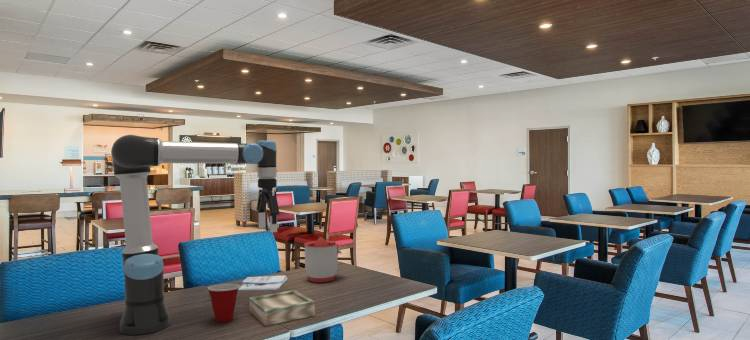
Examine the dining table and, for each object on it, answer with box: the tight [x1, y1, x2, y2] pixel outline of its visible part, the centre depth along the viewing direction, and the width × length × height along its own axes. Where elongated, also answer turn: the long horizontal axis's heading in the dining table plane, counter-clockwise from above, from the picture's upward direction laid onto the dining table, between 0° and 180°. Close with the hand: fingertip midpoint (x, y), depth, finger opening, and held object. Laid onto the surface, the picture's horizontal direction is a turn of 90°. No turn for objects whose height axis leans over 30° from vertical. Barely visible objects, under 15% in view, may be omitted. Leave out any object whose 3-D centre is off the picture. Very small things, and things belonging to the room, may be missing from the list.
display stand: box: [248, 289, 316, 327], centre depth 165 cm, size 18×18×5 cm
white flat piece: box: [238, 275, 288, 291], centre depth 205 cm, size 19×20×2 cm
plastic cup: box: [206, 283, 241, 324], centre depth 159 cm, size 11×11×12 cm
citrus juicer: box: [303, 236, 343, 283], centre depth 211 cm, size 16×17×20 cm
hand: (267, 230), depth 187 cm, fingers open, 13 cm apart
